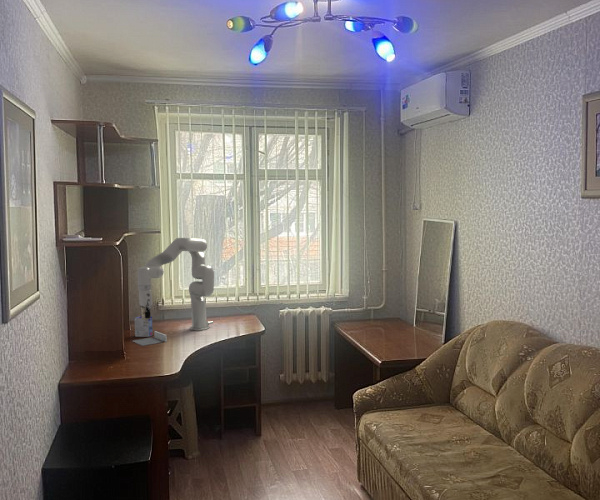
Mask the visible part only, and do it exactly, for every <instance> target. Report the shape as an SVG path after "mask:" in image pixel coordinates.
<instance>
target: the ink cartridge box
mask: <svg viewBox="0 0 600 500" xmlns="http://www.w3.org/2000/svg"><path fill="white" fill-rule="evenodd" d="M153 333H154V330H153V316H150V319H147V320H142V317H141V316H136V317H134V337H135V338H136V337H139V338H142V337H143V338H144V337H145V338H151V337H152V336H154V335H153Z"/></svg>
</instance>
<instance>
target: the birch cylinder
mask: <svg viewBox="0 0 600 500" xmlns="http://www.w3.org/2000/svg"><path fill="white" fill-rule="evenodd" d="M145 312H146V311H145V307H141V306H140V316H141V315H142V320H147V319H150V318H145Z"/></svg>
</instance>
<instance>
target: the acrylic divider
mask: <svg viewBox="0 0 600 500" xmlns="http://www.w3.org/2000/svg"><path fill="white" fill-rule="evenodd" d="M153 333H154V335H153V336H154V337H153V338H155V339H158V340H160V341H162V342H163V343H166V342H168V337H167V334H164V333H162V332H159V331H157V330H153Z"/></svg>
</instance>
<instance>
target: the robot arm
mask: <svg viewBox="0 0 600 500" xmlns="http://www.w3.org/2000/svg"><path fill="white" fill-rule="evenodd" d="M207 248H208V242H207V241H206V240H205V239H202V238H192V237H191V238H190V237H176V238H175V239H174V240H172V242H171V243H170V244H169V245H168V246H166V248H165V249H164V250H163V251H162V252H160V253H158V254H157V255H155V256H153V257H151V258H150V259H149V260H148V261H147V262H146V263H145V264H144V266H142V267H141V266H140V267H138V268H137V288H138V290H137V291H138V303H139V306H140V308H141V307H145V311H146V312H145V318H150V317H151V309H152V307H153V304H154V303H153V294H152V284H151V283H152V281H151V279H160V278H161V277H162V276H163V275H164V274H165V273H164V268H162V267H161V266H163V265H166V264H170V263H172V262H174V261H175V260H176V259H177V257H179V255H180V254H181V253H182V252H188V253H189V254H190V256H191V276H192V278H193V279H195V281H192V282H190V284H189V286H188V293H189V297H190V306H191V308H190V309H191V326H190V327H189V330H191V331H205V330H208V329H210V326H209V325H214V321H213V320H212V321H211V320H210V321H209V320H207V305H206V304H207V302H206V299H205V297H211V296H212V295H213V293H214V289H215V288H214V287H215V271H214V269H213V267H212V266H210V265H206V256H205V253H204V252H205V251H206V250H207ZM199 280H200V281H199ZM140 317H142V315H141V314H140Z"/></svg>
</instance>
